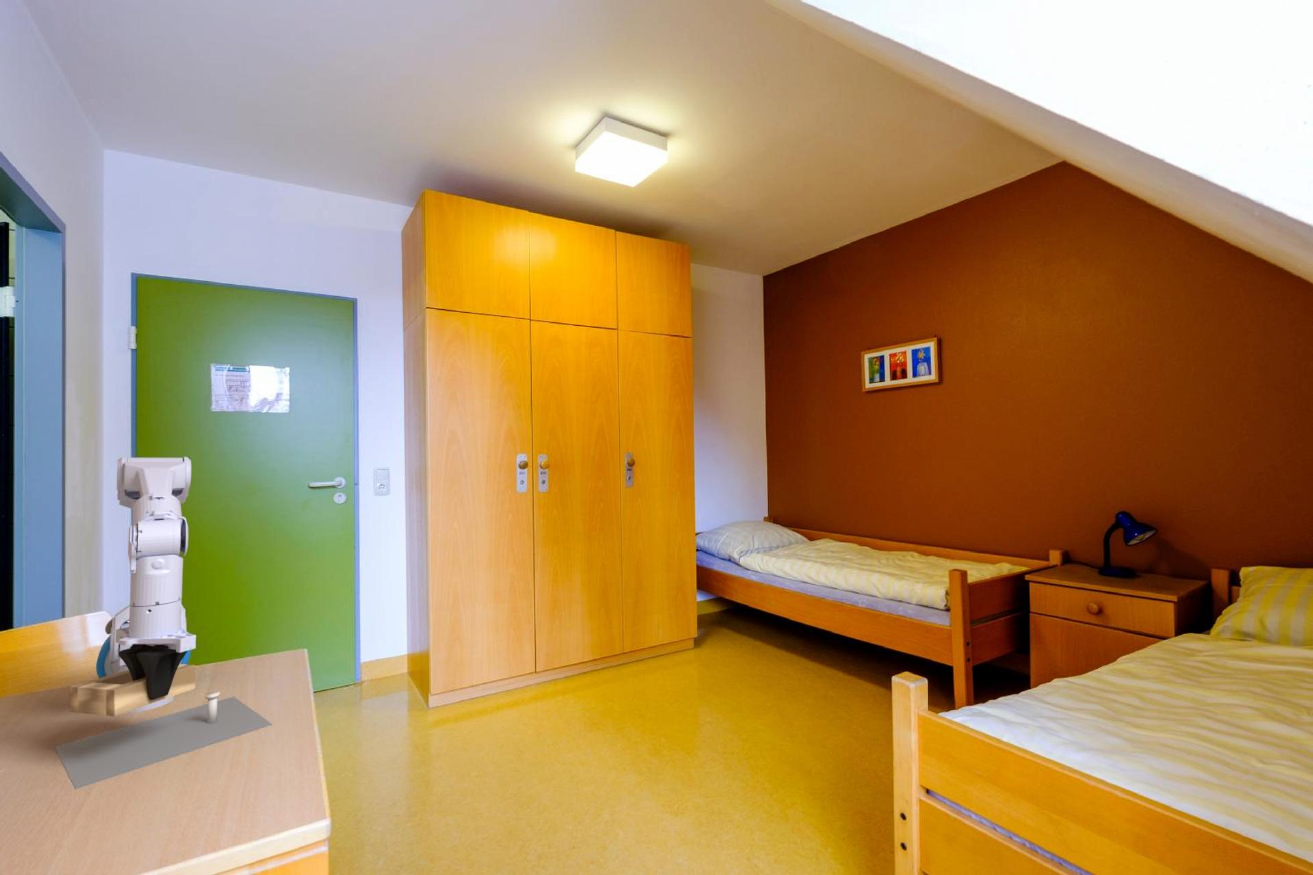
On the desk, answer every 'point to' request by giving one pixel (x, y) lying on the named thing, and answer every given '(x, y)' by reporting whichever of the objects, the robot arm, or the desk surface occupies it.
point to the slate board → (156, 740)
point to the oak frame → (123, 692)
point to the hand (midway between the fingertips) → (152, 696)
